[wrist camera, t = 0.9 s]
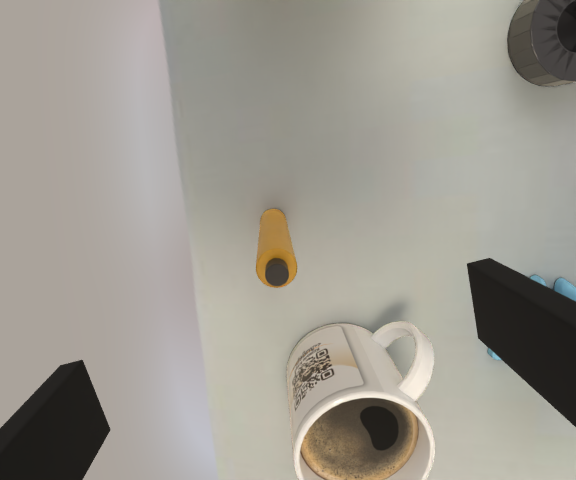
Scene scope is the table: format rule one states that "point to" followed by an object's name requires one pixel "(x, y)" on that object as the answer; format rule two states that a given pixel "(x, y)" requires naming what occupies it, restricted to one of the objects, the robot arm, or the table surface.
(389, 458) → the mug
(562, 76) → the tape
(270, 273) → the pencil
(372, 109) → the table surface
